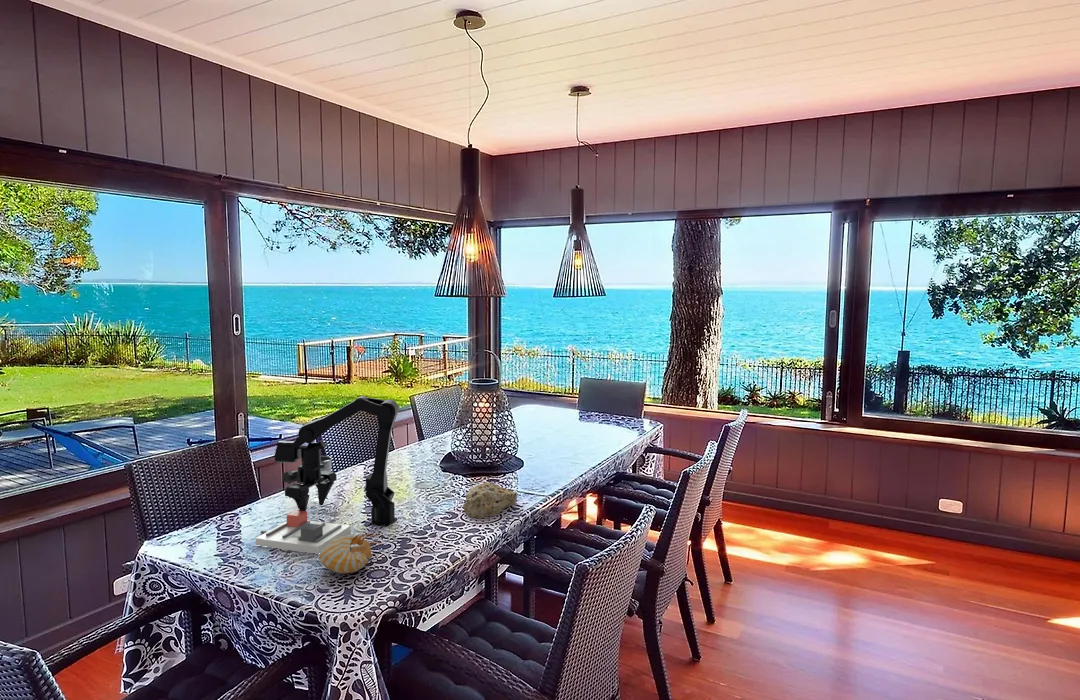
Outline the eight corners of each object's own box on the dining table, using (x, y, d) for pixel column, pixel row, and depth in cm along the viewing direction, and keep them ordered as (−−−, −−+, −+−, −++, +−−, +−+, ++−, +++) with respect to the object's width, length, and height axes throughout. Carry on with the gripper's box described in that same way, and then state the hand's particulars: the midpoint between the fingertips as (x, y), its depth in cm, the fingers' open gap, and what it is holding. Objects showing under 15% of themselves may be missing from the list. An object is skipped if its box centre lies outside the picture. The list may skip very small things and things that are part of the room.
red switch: (307, 522, 184) (307, 511, 184) (299, 527, 180) (298, 516, 180) (295, 521, 185) (295, 510, 185) (286, 525, 181) (286, 514, 181)
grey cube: (322, 536, 173) (322, 524, 173) (314, 542, 170) (313, 530, 169) (309, 534, 174) (309, 523, 174) (300, 540, 171) (300, 528, 170)
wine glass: (307, 504, 207) (306, 462, 205) (309, 497, 214) (308, 456, 213) (331, 502, 209) (330, 461, 207) (333, 495, 216) (332, 455, 215)
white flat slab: (350, 533, 182) (350, 523, 182) (318, 554, 167) (318, 543, 167) (278, 524, 189) (278, 514, 189) (241, 544, 174) (241, 533, 174)
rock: (483, 499, 216) (490, 473, 216) (517, 515, 210) (524, 488, 210) (452, 511, 198) (459, 483, 197) (488, 529, 192) (496, 500, 191)
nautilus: (367, 546, 174) (403, 561, 166) (303, 570, 156) (341, 588, 148) (368, 520, 174) (405, 533, 166) (305, 540, 156) (343, 557, 148)
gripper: (308, 452, 199) (309, 497, 201) (268, 468, 181) (270, 517, 183) (337, 455, 196) (338, 501, 198) (300, 471, 178) (301, 521, 180)
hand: (312, 509), depth 190 cm, fingers open, 9 cm apart
